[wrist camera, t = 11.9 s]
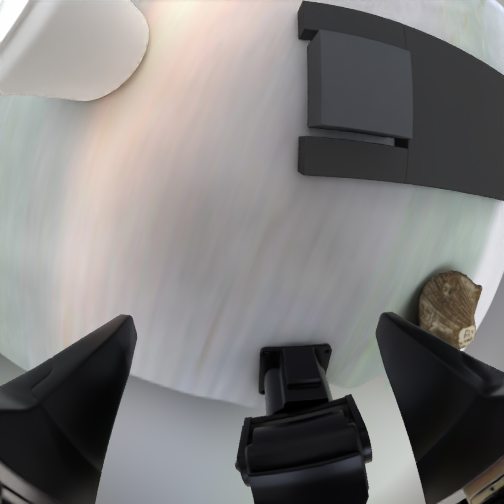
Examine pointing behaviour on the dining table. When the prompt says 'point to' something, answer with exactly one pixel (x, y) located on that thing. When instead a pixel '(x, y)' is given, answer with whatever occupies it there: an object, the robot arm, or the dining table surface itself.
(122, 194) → the dining table surface
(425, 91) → the u-shaped holder
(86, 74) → the beverage can
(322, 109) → the pad
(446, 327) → the fossilized seashell
